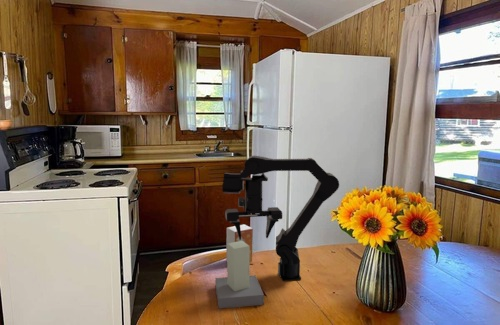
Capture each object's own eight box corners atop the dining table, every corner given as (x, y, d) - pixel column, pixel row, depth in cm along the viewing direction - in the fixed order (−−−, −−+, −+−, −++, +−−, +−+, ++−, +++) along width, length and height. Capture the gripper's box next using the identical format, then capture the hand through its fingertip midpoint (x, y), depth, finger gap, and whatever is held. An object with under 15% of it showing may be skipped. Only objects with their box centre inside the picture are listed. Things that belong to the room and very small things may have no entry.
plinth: (255, 284, 114) (255, 275, 113) (263, 304, 101) (263, 294, 100) (215, 287, 111) (215, 278, 111) (218, 308, 99) (218, 298, 98)
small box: (234, 266, 127) (234, 231, 126) (226, 260, 133) (225, 227, 131) (253, 261, 132) (253, 228, 130) (244, 256, 137) (244, 223, 136)
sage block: (242, 280, 109) (242, 240, 108) (249, 287, 105) (249, 245, 103) (227, 284, 107) (227, 243, 105) (234, 291, 102) (234, 248, 101)
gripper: (275, 188, 126) (274, 230, 128) (223, 189, 123) (223, 232, 125) (283, 194, 115) (282, 240, 117) (226, 196, 112) (227, 243, 114)
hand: (253, 238), depth 118 cm, fingers open, 9 cm apart
